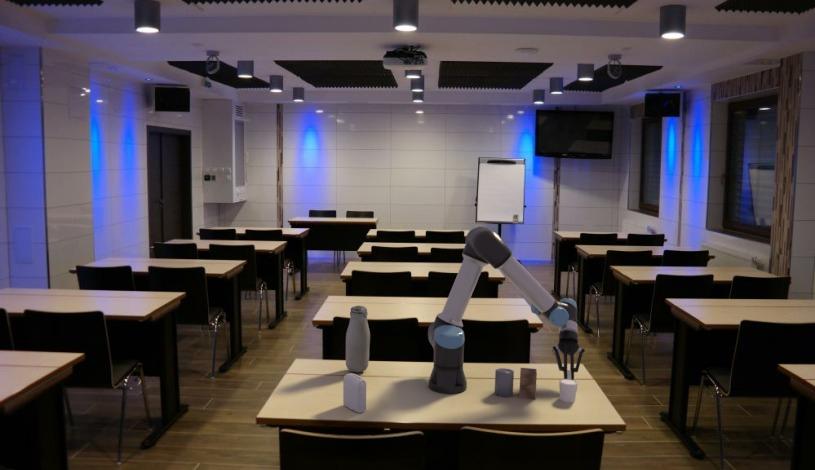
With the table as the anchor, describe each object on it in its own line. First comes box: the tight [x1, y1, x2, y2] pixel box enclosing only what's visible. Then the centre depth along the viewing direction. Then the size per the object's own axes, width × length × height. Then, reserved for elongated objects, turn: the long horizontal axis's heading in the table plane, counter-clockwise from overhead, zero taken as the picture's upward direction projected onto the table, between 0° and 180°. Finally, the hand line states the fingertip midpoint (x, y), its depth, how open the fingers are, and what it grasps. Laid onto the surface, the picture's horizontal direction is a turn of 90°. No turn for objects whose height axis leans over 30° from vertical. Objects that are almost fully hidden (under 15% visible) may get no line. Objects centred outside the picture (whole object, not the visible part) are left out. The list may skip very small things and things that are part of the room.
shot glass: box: [558, 378, 579, 403], centre depth 243 cm, size 7×7×7 cm
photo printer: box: [342, 372, 367, 414], centre depth 228 cm, size 10×4×12 cm, turn 39°
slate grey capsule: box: [494, 367, 515, 398], centre depth 247 cm, size 7×7×9 cm
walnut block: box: [518, 367, 538, 400], centre depth 245 cm, size 6×6×10 cm
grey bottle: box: [345, 305, 371, 373], centre depth 267 cm, size 10×10×28 cm
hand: (569, 387), depth 249 cm, fingers closed
